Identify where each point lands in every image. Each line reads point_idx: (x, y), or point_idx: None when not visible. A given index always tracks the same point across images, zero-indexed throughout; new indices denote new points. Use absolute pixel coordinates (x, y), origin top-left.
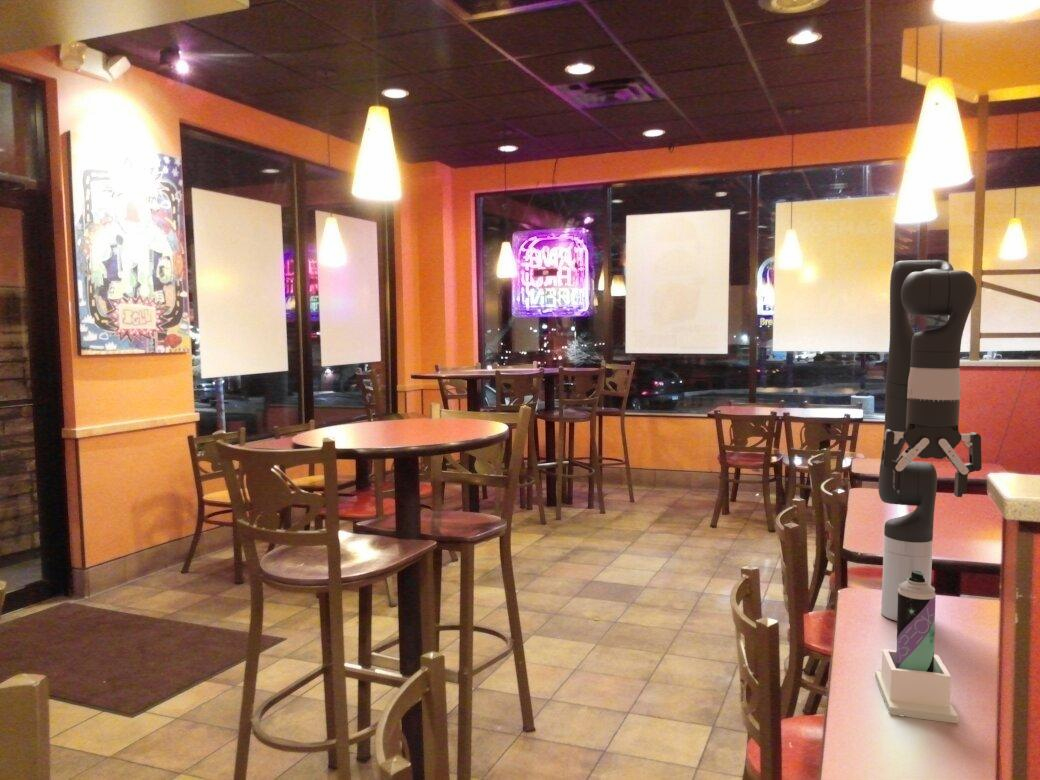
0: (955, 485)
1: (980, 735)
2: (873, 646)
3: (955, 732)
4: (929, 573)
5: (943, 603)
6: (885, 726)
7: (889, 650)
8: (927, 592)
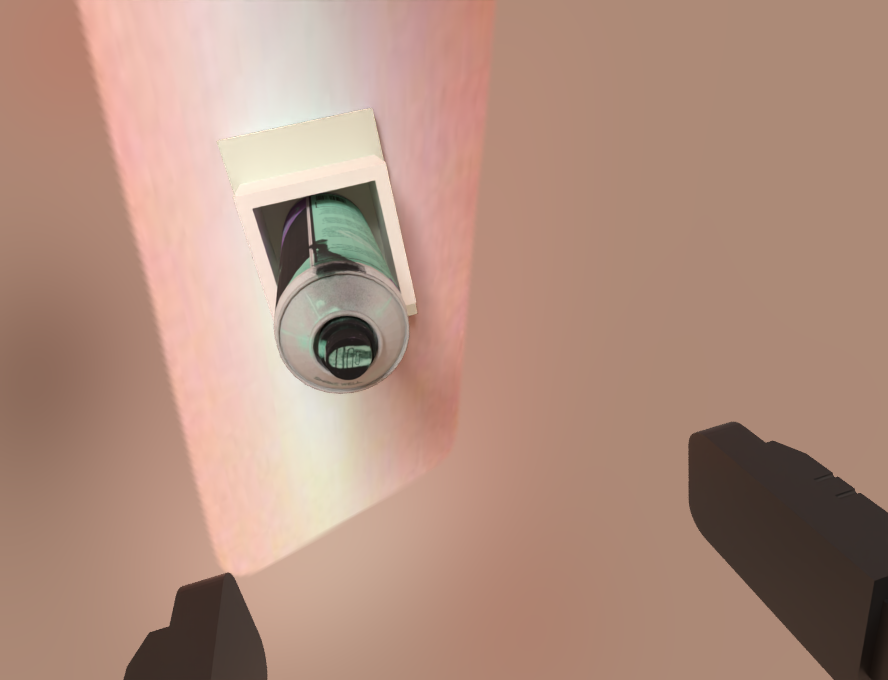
0: (753, 506)
1: (453, 336)
2: None
3: (410, 348)
4: None
5: None
6: (284, 396)
7: (254, 198)
8: (384, 377)
